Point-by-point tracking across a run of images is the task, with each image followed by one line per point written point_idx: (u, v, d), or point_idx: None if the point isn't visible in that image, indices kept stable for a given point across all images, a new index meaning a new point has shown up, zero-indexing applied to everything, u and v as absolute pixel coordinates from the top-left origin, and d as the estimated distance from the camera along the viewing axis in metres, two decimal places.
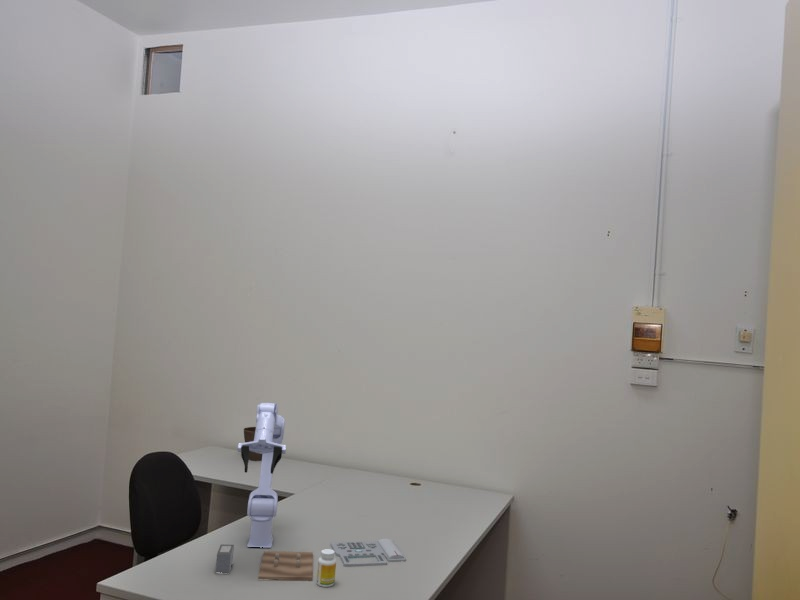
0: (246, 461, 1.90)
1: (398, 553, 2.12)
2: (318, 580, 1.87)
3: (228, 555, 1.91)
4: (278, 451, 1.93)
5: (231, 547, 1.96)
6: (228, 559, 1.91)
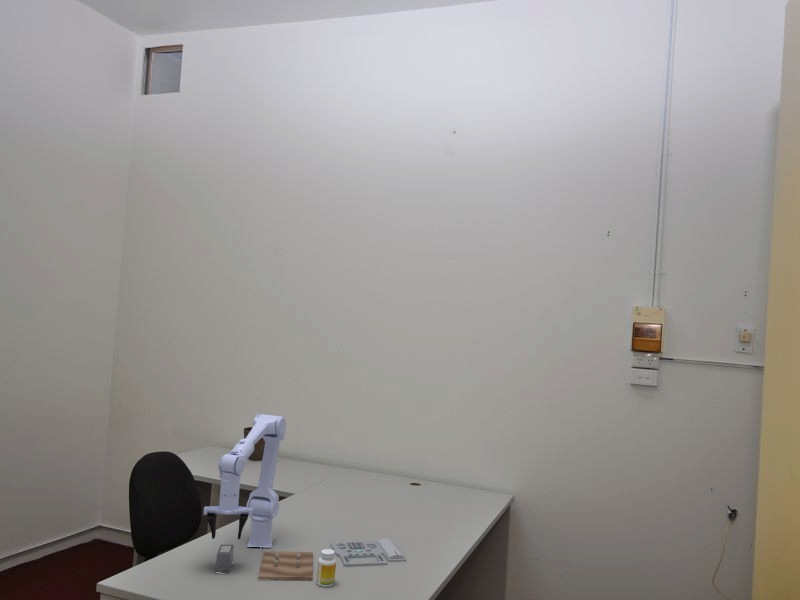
0: (213, 532, 1.93)
1: (398, 553, 2.12)
2: (318, 580, 1.87)
3: (228, 555, 1.91)
4: (244, 522, 1.93)
5: (231, 547, 1.96)
6: (228, 559, 1.91)
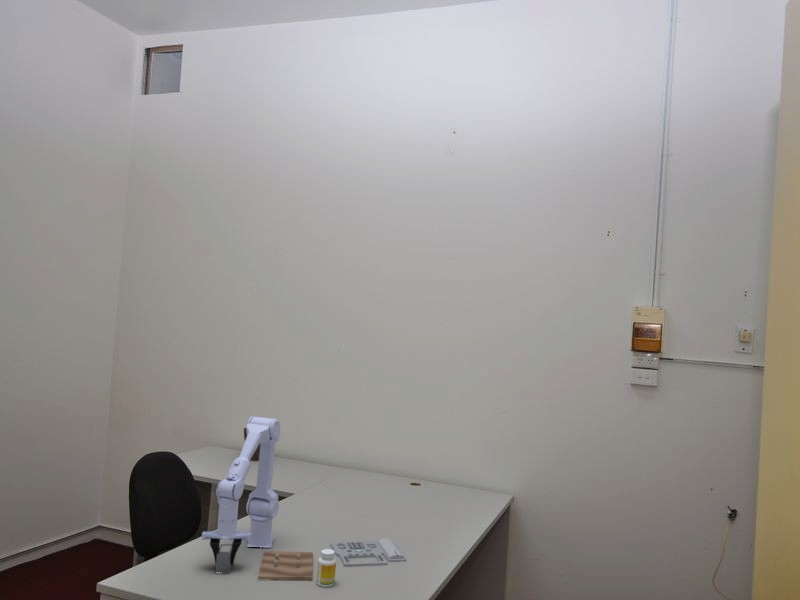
0: (216, 557, 1.93)
1: (398, 553, 2.12)
2: (318, 580, 1.87)
3: (228, 555, 1.91)
4: (237, 547, 1.93)
5: (231, 547, 1.96)
6: (228, 559, 1.91)
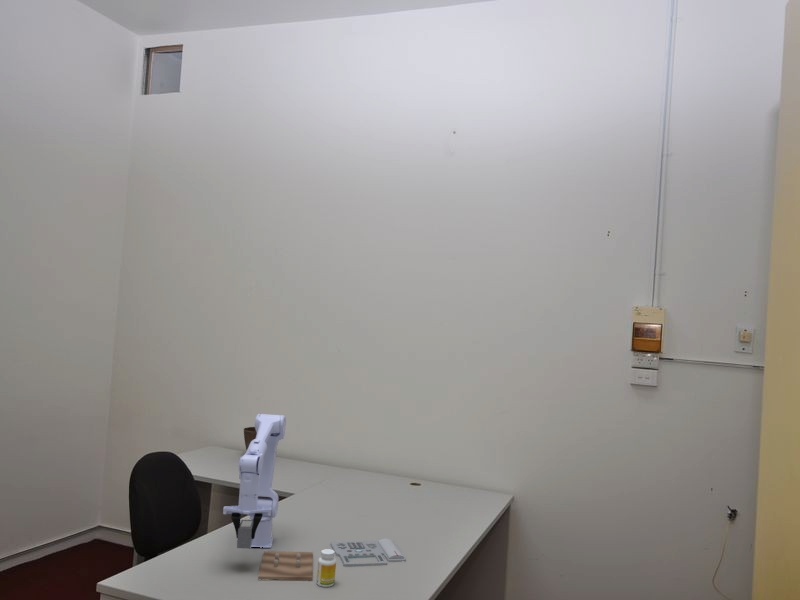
0: (237, 531, 1.94)
1: (398, 553, 2.12)
2: (318, 580, 1.87)
3: (249, 529, 1.92)
4: (258, 521, 1.94)
5: (252, 522, 1.98)
6: (249, 533, 1.92)
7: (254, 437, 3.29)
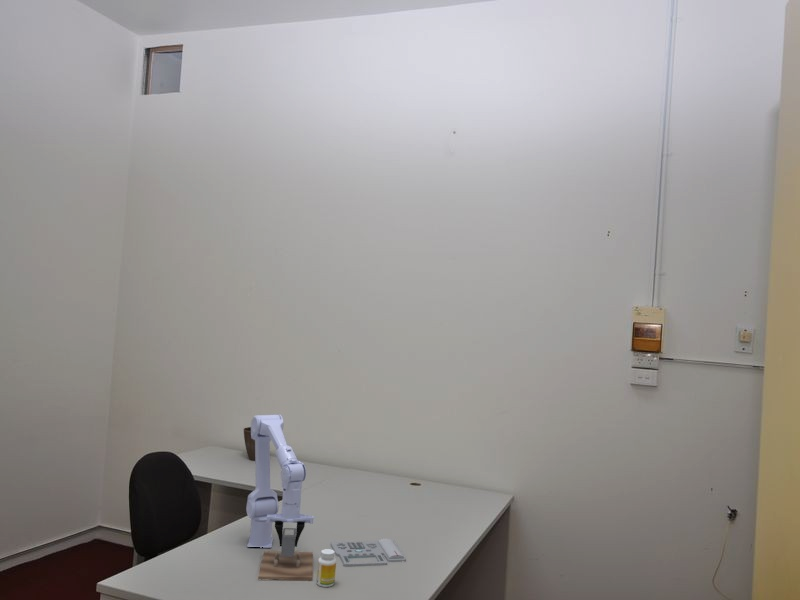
0: (280, 539, 1.97)
1: (398, 553, 2.11)
2: (318, 580, 1.87)
3: (293, 538, 1.95)
4: (301, 530, 1.97)
5: (294, 530, 2.01)
6: (293, 542, 1.95)
7: None
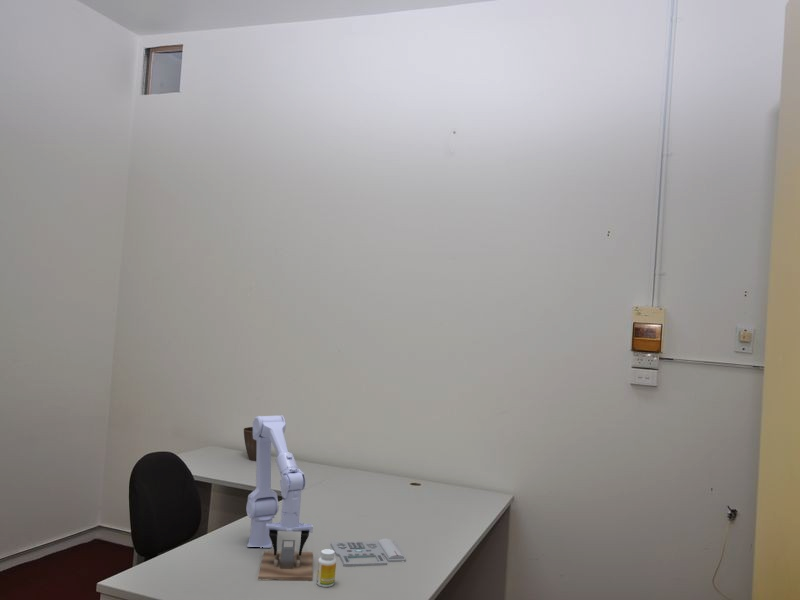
0: (275, 548, 1.97)
1: (398, 553, 2.11)
2: (318, 580, 1.87)
3: (292, 550, 1.95)
4: (305, 539, 1.97)
5: (293, 542, 2.00)
6: (292, 554, 1.95)
7: None
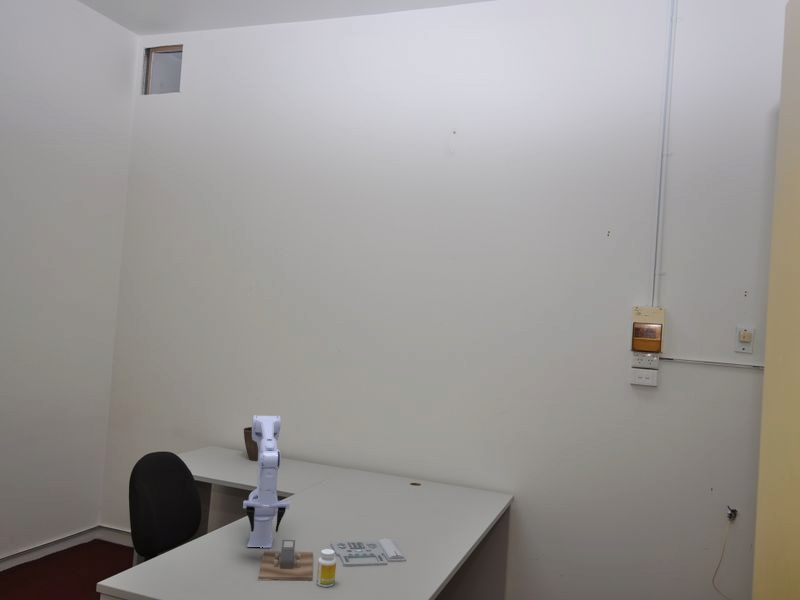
0: (252, 525, 2.01)
1: (398, 553, 2.11)
2: (318, 580, 1.87)
3: (292, 550, 1.95)
4: (282, 515, 2.01)
5: (293, 542, 2.00)
6: (292, 554, 1.95)
7: None
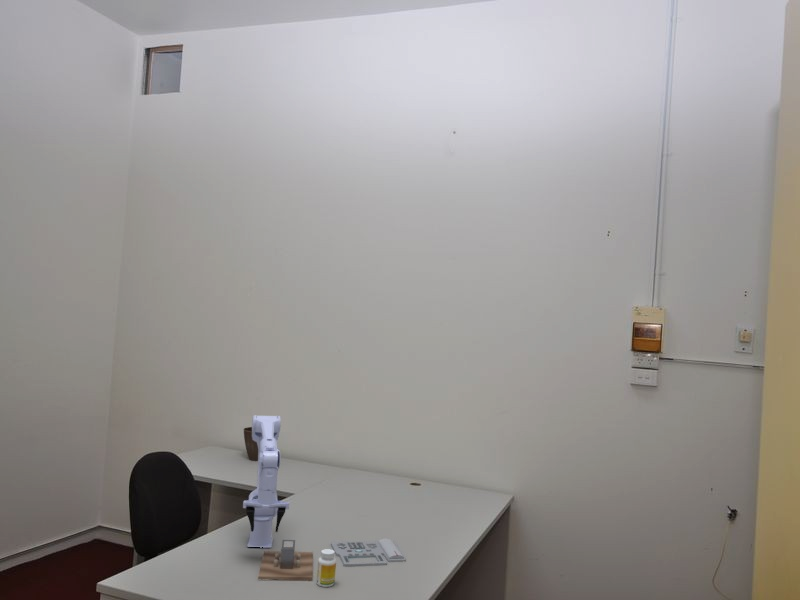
0: (252, 525, 2.01)
1: (398, 553, 2.11)
2: (318, 580, 1.87)
3: (292, 550, 1.95)
4: (281, 515, 2.01)
5: (293, 542, 2.00)
6: (292, 554, 1.95)
7: None
